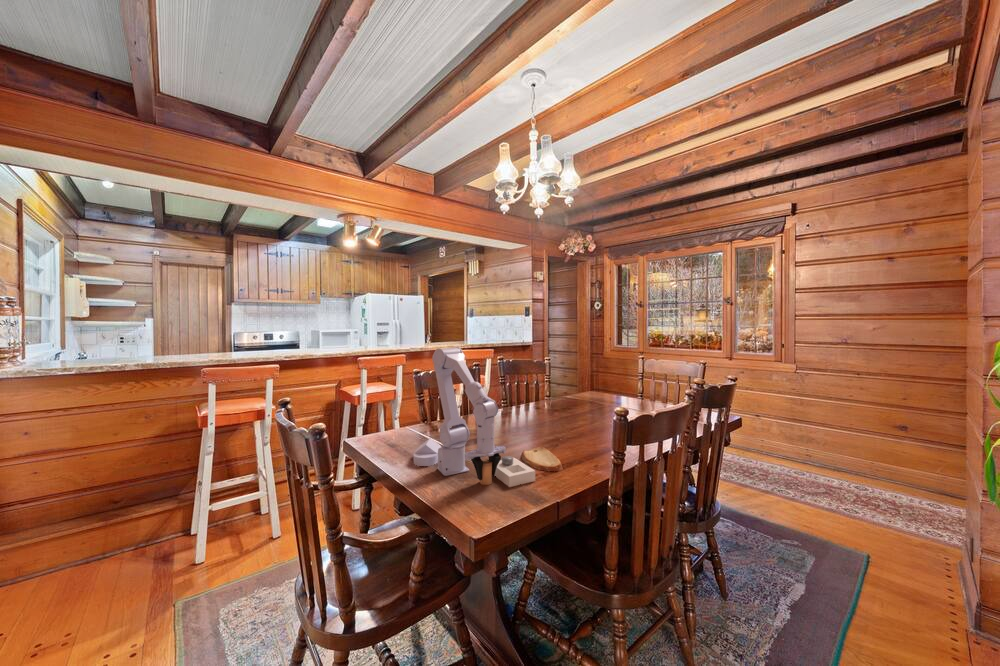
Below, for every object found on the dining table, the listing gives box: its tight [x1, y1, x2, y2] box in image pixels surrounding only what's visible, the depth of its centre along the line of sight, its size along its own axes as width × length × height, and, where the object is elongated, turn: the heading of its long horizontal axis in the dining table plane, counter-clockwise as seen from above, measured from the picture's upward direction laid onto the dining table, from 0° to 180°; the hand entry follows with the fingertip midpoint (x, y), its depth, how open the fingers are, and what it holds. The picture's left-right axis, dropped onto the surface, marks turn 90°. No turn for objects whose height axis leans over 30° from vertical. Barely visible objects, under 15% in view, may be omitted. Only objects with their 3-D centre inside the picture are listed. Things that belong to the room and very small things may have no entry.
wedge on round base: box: [413, 437, 442, 467], centre depth 148 cm, size 9×7×13 cm
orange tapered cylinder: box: [479, 458, 493, 486], centre depth 128 cm, size 4×4×7 cm
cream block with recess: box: [494, 455, 536, 488], centre depth 133 cm, size 10×14×6 cm
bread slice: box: [520, 446, 564, 473], centre depth 147 cm, size 18×18×4 cm
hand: (485, 477), depth 128 cm, fingers closed on orange tapered cylinder, 4 cm apart
